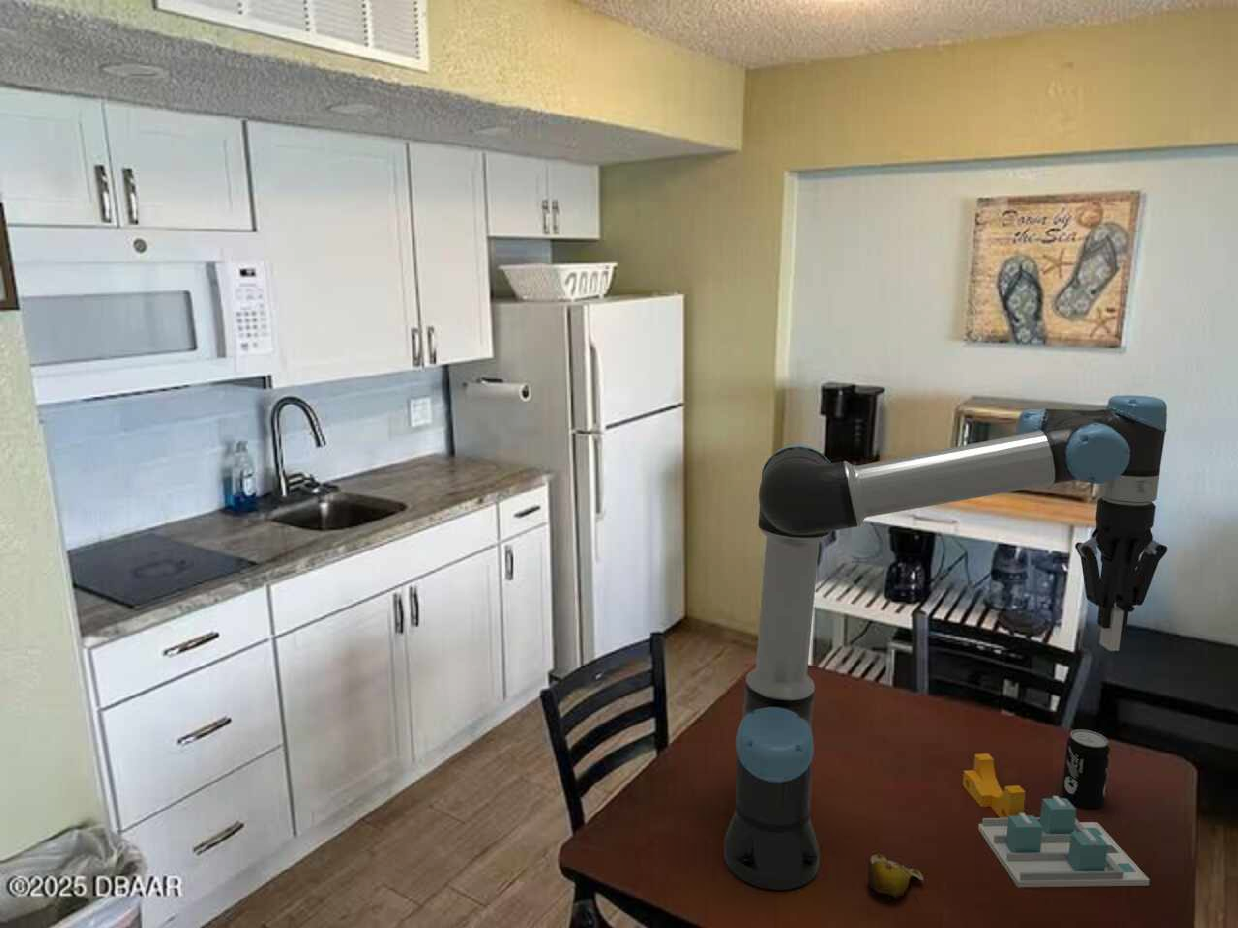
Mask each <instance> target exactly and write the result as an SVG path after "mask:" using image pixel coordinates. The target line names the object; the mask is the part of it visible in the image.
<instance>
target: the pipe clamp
mask: <svg viewBox="0 0 1238 928" xmlns="http://www.w3.org/2000/svg"><path fill="white" fill-rule="evenodd" d="M994 762H995V759H994V758H993V757H992V756H991V754H990V753H988V752H987V753H975V754H974V759H973V767H972V768H973V769H970V770H963V781H962V785H963V787H964V788H965V790H966V791H967V792H968V793H969V794H970V796H971V797H972V798H973V799H974V801H975V802H976V803H977V804H978V805H979V807H980V808H988V807H989V808H991V809H992V811H994V812H995V814H996V815H997V816H998V818H1008V816H1016V815H1019V813H1025V812H1024V811H1025V802H1026V791H1025V790H1024V788H1022V787H1021V786H1020V785H1019V784H1015V785H1005V786H1004V788H1003V789H1002V788H1001V786H1000V784H999V781H998V779H997V776H996V771H995V763H994Z"/></svg>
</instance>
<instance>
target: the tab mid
mask: <svg viewBox="0 0 1238 928" xmlns="http://www.w3.org/2000/svg"><path fill="white" fill-rule="evenodd" d="M1042 829H1043V827H1042V826H1041V824H1040V823H1039V822H1038V821H1037V819H1036V818H1035V816H1034V815H1031V814H1030V815H1029V814H1028V815H1027V814H1026V813H1025V812H1024V813H1019V815H1016V816H1008V824H1007V835H1006V844H1007V846H1008V847H1009V849H1010V850H1011V851H1012V853H1026V852H1040V848H1041V838H1042Z"/></svg>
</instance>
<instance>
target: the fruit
mask: <svg viewBox="0 0 1238 928" xmlns="http://www.w3.org/2000/svg"><path fill="white" fill-rule="evenodd" d="M870 863H871V866H870V869H869V870H868V877H867V878H868V881H869V882H868V883H869V886H870V888H871V890H872V891H873V892H876V893H879V894H886V895H888V896H892V897H893V898H898V897H902V896H904V895H905V892H906V891H907V890H908V887H909V885H910V879H911V878H912V877H916V878H917V879H918V880H919V882H923V881H924V876H923V875H922V873H921V872H920V871H919V870H918V869H916V868H915V869H913V868H910V869H909V868H907V867H905V866H904V865H902V866H901V865H900V864H899V863H897V862H894V861H892V860H890V859H889V860H888V859H886V857H885V855H882V854H881V853H880V854H878V853H876V854H874V855H871V856H870Z"/></svg>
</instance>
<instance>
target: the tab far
mask: <svg viewBox="0 0 1238 928" xmlns="http://www.w3.org/2000/svg"><path fill="white" fill-rule="evenodd" d="M1076 814H1077V809H1076V807H1075V805H1074V804H1073V803H1071V802H1069V801H1068V800H1067V799H1066V798H1063V797H1062V798H1060V796H1058V795H1052V798H1041V807H1040V816H1039V817H1040V824H1041V826H1042V827H1043V831H1044V832H1045V833H1046V834H1071V832H1074V824H1075V818H1076V817H1077V816H1076Z"/></svg>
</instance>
